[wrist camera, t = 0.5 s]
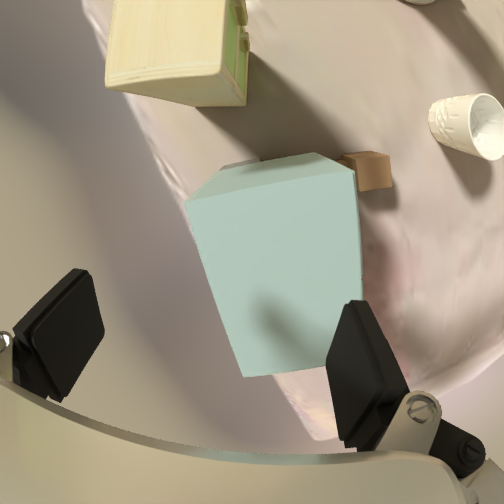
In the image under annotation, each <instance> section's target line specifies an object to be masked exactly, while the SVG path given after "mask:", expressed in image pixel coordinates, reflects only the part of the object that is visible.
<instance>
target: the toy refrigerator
mask: <svg viewBox="0 0 504 504" xmlns="http://www.w3.org/2000/svg"><path fill="white" fill-rule="evenodd" d="M247 21H248V16H247V10H246V3H245V0H114V5H113V11H112V17H111V23H110V31H109V38H108V46H107V55H106V66H105V86H106V88H107V89H110V90H114V91H121V92H127V93H132V94H137V95H143V96H148V97H153V98H158V99H163V100H167V101H171V102H176V103H180V104H184V105H188V106H192V107H205V106H246V100H247V78H248V56H249V50H250V42H249V34H248V32H245V28H244V26H246V25H247Z"/></svg>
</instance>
